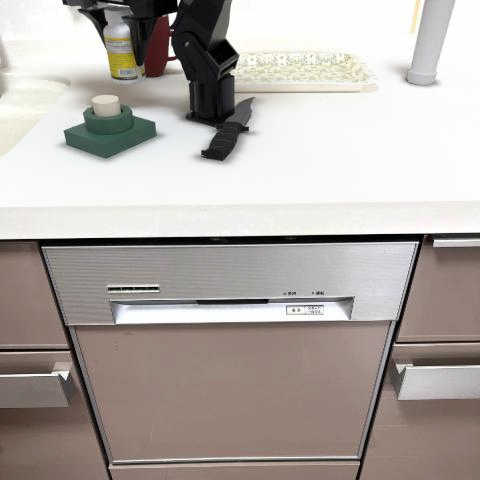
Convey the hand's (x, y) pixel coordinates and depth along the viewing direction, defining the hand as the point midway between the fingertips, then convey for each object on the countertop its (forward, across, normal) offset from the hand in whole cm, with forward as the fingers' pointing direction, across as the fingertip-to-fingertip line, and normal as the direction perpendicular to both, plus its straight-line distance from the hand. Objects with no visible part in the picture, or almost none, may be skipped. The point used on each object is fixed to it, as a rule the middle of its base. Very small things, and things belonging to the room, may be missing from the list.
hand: (126, 63), depth 74 cm
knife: (+7, +19, +3) cm, 20 cm away
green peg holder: (+7, +8, -12) cm, 16 cm away
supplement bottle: (+3, 0, 0) cm, 3 cm away
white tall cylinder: (+7, +34, +43) cm, 55 cm away
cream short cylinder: (+3, +8, -12) cm, 15 cm away
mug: (+7, -10, +17) cm, 20 cm away
